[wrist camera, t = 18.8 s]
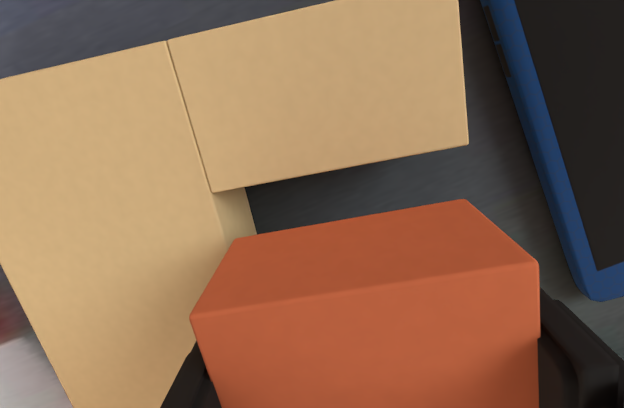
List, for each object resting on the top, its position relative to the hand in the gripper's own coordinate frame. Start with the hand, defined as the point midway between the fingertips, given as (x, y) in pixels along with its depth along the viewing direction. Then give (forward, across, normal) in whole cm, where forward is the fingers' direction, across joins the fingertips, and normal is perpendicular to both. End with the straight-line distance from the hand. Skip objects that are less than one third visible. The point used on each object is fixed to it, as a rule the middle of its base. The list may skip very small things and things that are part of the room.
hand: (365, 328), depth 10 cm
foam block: (+1, 0, 0) cm, 1 cm away
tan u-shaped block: (+5, +4, 0) cm, 6 cm away
